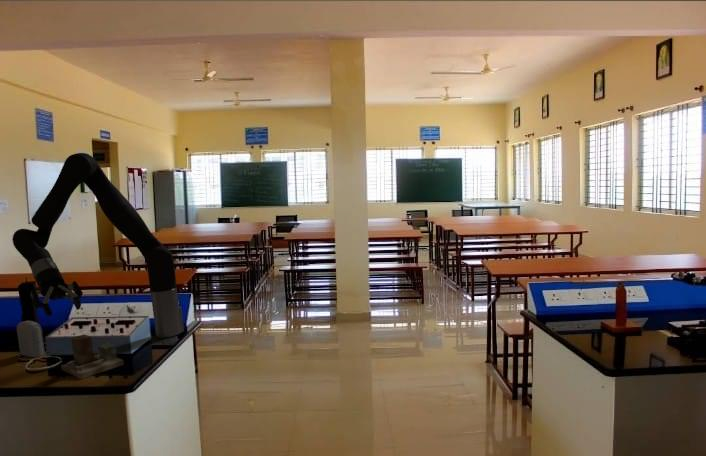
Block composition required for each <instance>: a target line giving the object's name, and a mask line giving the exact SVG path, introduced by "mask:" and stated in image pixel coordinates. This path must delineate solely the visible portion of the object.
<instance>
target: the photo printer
mask: <svg viewBox="0 0 706 456" xmlns="http://www.w3.org/2000/svg"><path fill="white" fill-rule="evenodd" d="M41 328H42V327H41V325H40V323H39V324H37V323H36V322H33V321H24V322H22V321H20V322H19V323H18V324H17V325H16V334H17V335H16V336H17V340H18V341H17V342H18V349H19V353H20V355H21V356H25V357H30V358H40V357H42V356H44V355H45V352H46V351H45V345H44V337H43V336H44V335H43V336H42V329H43V328H42V329H41Z"/></svg>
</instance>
